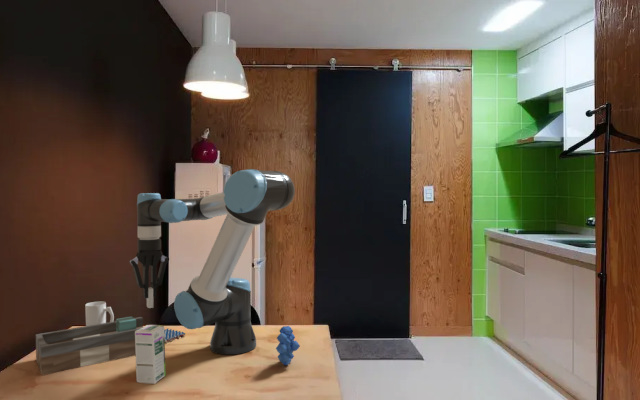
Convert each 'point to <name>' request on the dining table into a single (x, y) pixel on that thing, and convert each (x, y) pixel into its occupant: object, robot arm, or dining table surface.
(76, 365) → the track
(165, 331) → the woven mat
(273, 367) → the dining table surface
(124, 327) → the block
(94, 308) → the mug
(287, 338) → the grapes
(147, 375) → the syrup box
